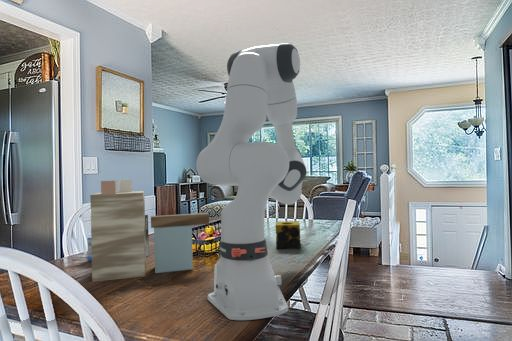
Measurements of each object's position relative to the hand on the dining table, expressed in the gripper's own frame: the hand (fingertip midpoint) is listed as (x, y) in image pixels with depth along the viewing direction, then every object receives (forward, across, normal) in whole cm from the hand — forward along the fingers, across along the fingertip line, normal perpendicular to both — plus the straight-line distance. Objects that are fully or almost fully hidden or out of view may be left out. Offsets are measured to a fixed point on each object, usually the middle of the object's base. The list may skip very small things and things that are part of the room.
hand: (227, 159), depth 122 cm
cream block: (+24, -4, +26) cm, 36 cm away
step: (-2, 0, +41) cm, 41 cm away
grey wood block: (+13, 0, +49) cm, 51 cm away
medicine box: (+21, -22, +54) cm, 62 cm away
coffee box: (+10, -20, +48) cm, 53 cm away
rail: (+3, 0, +28) cm, 28 cm away
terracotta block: (+28, +4, +28) cm, 40 cm away
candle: (-43, -16, +18) cm, 50 cm away
